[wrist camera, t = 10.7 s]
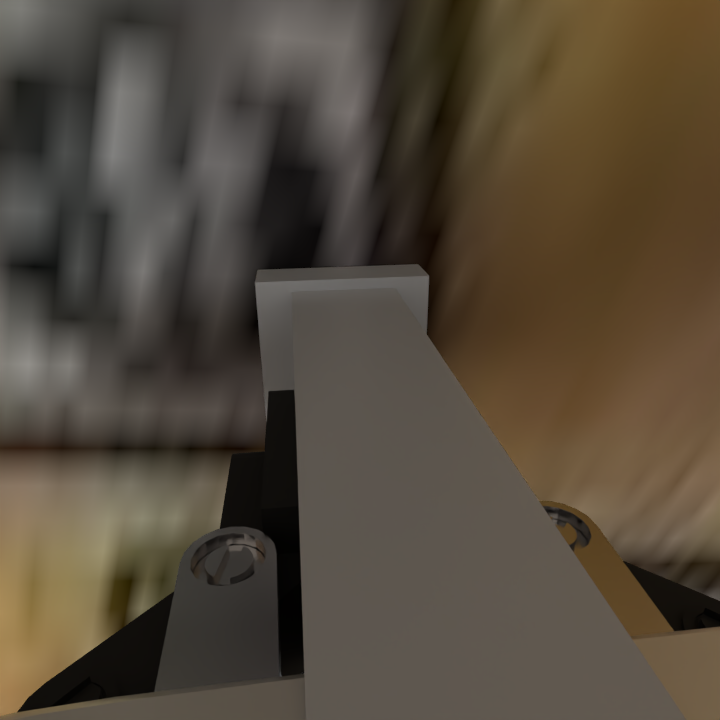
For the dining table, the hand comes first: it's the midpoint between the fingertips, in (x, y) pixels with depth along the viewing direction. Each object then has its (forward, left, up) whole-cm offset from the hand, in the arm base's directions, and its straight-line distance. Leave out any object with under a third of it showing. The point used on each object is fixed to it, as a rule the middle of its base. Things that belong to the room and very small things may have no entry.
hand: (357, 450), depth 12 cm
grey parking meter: (0, +6, -3) cm, 7 cm away
